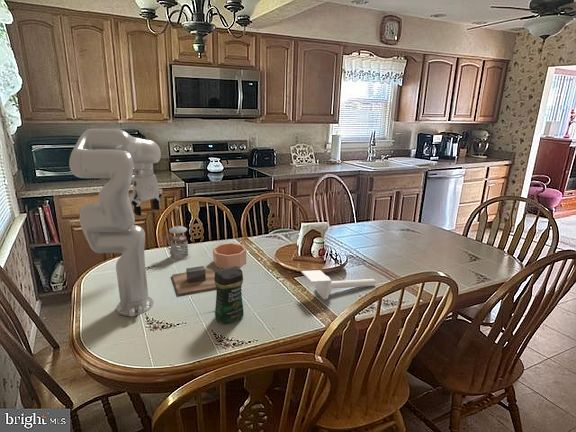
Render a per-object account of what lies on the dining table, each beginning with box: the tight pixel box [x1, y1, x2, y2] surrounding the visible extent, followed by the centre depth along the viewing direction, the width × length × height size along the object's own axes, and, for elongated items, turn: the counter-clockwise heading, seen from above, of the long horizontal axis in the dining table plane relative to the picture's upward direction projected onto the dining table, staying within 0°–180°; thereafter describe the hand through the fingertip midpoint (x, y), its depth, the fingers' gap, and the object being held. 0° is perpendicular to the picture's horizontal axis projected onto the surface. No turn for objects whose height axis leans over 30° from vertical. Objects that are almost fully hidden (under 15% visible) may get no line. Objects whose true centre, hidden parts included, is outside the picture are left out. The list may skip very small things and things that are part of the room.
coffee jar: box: [214, 266, 245, 325], centre depth 132 cm, size 10×8×19 cm
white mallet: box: [300, 269, 376, 300], centre depth 153 cm, size 9×9×32 cm
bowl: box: [212, 242, 247, 269], centre depth 176 cm, size 14×14×7 cm
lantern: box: [163, 206, 192, 262], centre depth 178 cm, size 10×12×25 cm
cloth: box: [171, 265, 216, 297], centre depth 156 cm, size 17×17×6 cm
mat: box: [170, 269, 217, 298], centre depth 157 cm, size 18×18×1 cm
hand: (147, 212), depth 163 cm, fingers open, 9 cm apart
